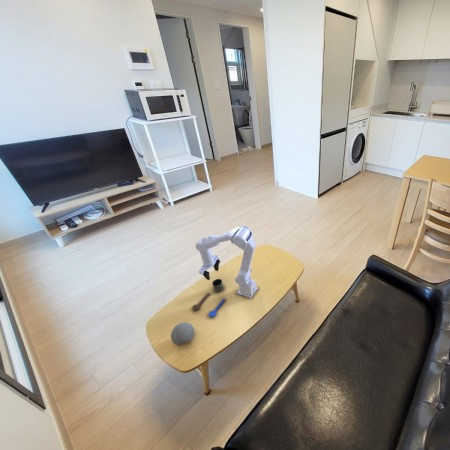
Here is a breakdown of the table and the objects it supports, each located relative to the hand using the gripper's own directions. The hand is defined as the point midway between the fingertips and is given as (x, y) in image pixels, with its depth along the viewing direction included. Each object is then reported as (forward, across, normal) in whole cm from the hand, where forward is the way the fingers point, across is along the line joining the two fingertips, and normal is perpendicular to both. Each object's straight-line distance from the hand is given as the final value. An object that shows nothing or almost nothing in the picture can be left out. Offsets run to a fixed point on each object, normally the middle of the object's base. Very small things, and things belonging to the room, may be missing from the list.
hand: (212, 274), depth 139 cm
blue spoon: (+9, +14, +12) cm, 20 cm away
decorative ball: (+9, +34, +9) cm, 36 cm away
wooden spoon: (+9, +14, +1) cm, 16 cm away
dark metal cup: (+9, +2, +4) cm, 10 cm away
